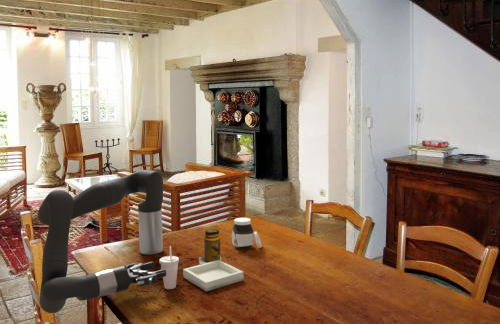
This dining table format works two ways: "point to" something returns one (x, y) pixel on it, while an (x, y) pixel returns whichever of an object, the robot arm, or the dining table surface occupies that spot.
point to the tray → (213, 275)
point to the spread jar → (244, 234)
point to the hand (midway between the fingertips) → (159, 268)
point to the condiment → (211, 246)
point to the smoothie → (169, 270)
